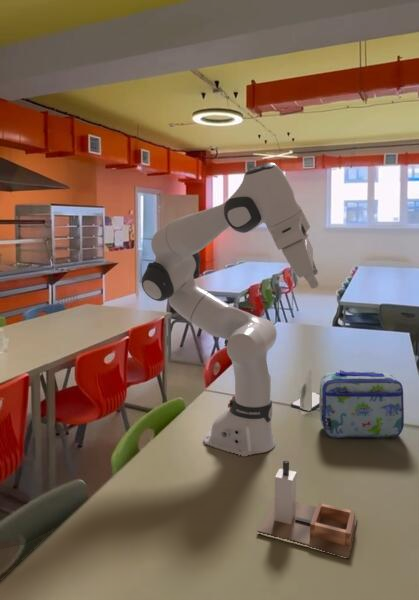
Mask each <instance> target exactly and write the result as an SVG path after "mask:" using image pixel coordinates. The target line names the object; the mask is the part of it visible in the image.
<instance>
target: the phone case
mask: <svg viewBox="0 0 419 600" xmlns="http://www.w3.org/2000/svg"><path fill="white" fill-rule="evenodd" d="M311 392H312V408H311V410H313V411H314V410H316V409H317V408H318V409H319V396H320V392H315V391H311ZM290 407H292V408H294V409H298V410H300V409H299V408H300V398H298V399H296V400H295V401H292V402H291V403H290Z"/></svg>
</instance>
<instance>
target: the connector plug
mask: <svg viewBox="0 0 419 600" xmlns="http://www.w3.org/2000/svg"><path fill="white" fill-rule="evenodd" d="M274 497H275V511H274V520H275V521H279V522H283V523H287V524H292V522H293V519H294V517H295V513H296V502H297V471H293V470H290V462H289V460H283V461H282V468H279V469H278V471H277V472H276V475H275V476H274Z"/></svg>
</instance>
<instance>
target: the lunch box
mask: <svg viewBox="0 0 419 600" xmlns="http://www.w3.org/2000/svg"><path fill="white" fill-rule="evenodd" d="M319 383H320V384H319V394H320V396H319V407H318V409H319V419H320V422H321V423H320V424H321V425H322V427H323V431H324V432H325V433H326V435H327V436H328V437H330V438H333V439H340V438H342V439H343V438H395V437H398V436H400V434H401V433H402V431H403V429H404V427H405V425H404V424H405V422H404V421H405V419H404V418H405V416H404V415H405V410H404V409H405V408H404V405H405V404H404V388H403V385H402V383H401V382H400V381H398V379H397V378H396V376H394V375H393V374H391V373H388V372H382V371H381V372H380V371H345V370H342V369H340V370H339V371H334V372H333V371H332V372H327V373H325V374H324V375H323V376H322V377H321V379H320V382H319Z"/></svg>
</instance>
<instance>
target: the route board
mask: <svg viewBox="0 0 419 600" xmlns="http://www.w3.org/2000/svg"><path fill="white" fill-rule="evenodd" d="M274 511H275V496H274V497H273V499H272V502H271V503H270V505H269V507H268V509H267V510H266V513H265V515H264V517H263V518H262V521H261V523H260V524H259V527H258V529H257V532H259V533H263V534H267V535H271V536H274V537H279V538H282V539H287V540H290V541H293V542H297V543H300V544H303V545H307V546H309V547H312V548H316V549H319V550H322V551H325V552H329V553H332V554H335V555H339V556H343V557H346V558H349V559H350V557H351V556H350V555H351V552H350V551H352V546H353V543H354V538H353V537H354V536H355V533H356V532H355V531H356V527H357V522H358V516H357V515H356V511H355V510H351V509H347V508H343V507H339V506H338V507H337V506H334V505H330V504H326V503H323V502H317V504H316V506H314V505H310V504H305V503H301V502H297V501H296V513H295V517H294V519H293V522H292V524H287V523H283V522H279V521H275V520H274ZM354 532H355V533H354ZM352 542H353V543H352ZM349 556H350V557H349Z"/></svg>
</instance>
